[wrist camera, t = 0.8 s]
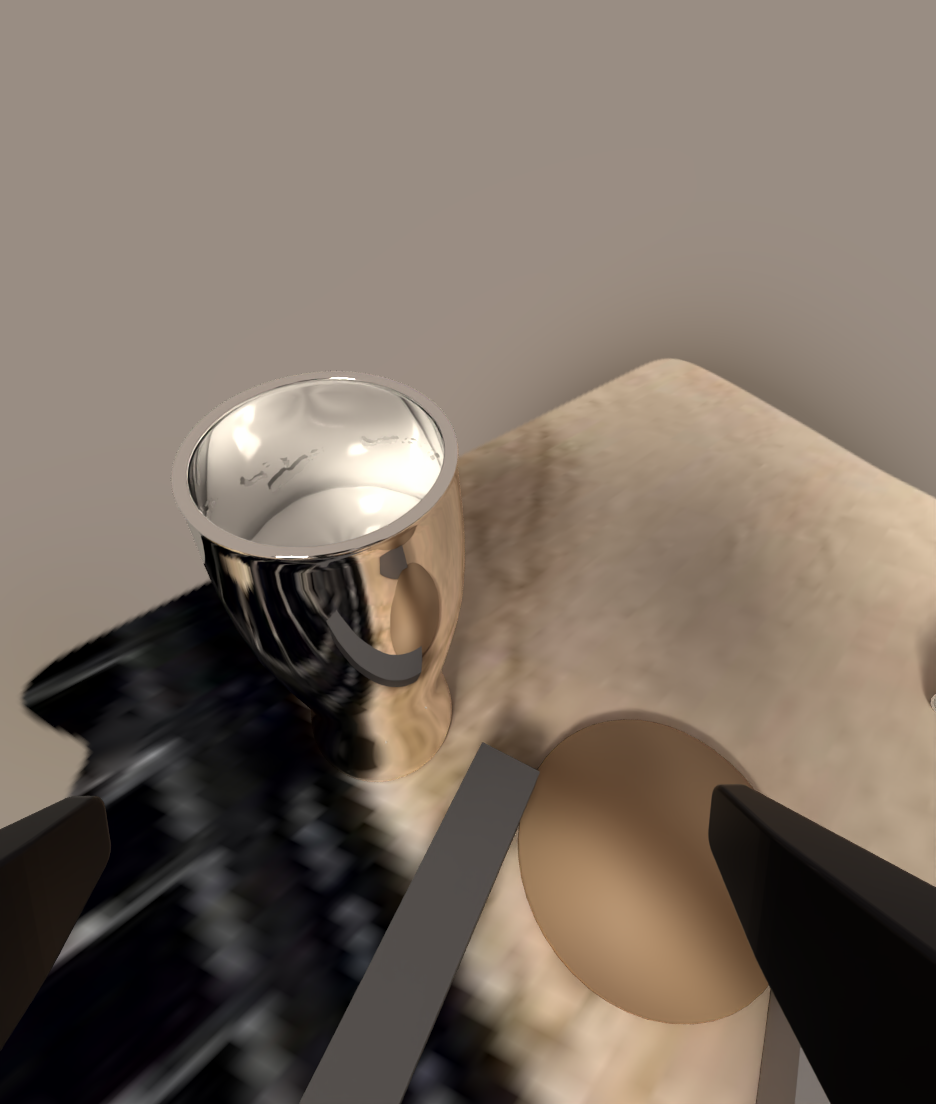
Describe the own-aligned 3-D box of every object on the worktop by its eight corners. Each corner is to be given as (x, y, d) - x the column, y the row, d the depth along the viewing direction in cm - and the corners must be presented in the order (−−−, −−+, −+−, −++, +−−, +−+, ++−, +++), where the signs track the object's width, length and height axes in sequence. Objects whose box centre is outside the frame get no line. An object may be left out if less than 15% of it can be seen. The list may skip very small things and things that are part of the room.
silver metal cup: (269, 740, 24) (89, 484, 12) (366, 620, 28) (301, 340, 16) (404, 829, 22) (345, 622, 10) (489, 685, 25) (518, 417, 14)
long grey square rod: (366, 1184, 16) (354, 1208, 14) (298, 1128, 16) (278, 1144, 14) (532, 790, 22) (540, 771, 21) (480, 763, 23) (482, 742, 21)
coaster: (764, 1098, 17) (772, 1101, 16) (472, 918, 20) (473, 916, 19) (801, 793, 23) (809, 789, 22) (571, 687, 25) (573, 681, 25)
